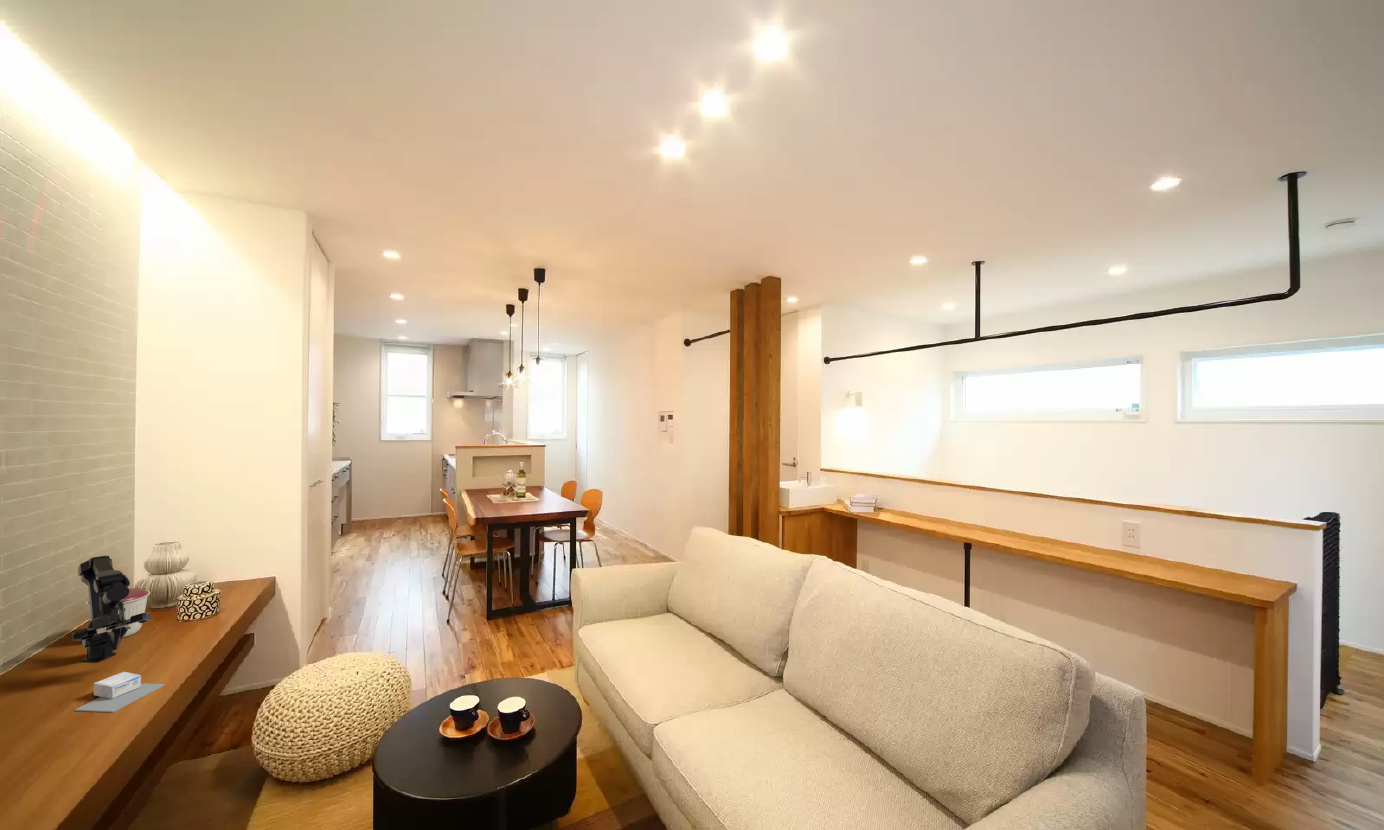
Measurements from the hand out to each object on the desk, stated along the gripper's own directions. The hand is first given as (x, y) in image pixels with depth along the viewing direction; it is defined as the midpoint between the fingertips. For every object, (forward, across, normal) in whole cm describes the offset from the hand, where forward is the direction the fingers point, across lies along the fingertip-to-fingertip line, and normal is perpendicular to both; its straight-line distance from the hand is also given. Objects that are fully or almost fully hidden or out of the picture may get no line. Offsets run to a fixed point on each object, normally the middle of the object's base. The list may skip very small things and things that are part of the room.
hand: (115, 649), depth 182 cm
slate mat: (+18, +5, -11) cm, 22 cm away
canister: (-12, -15, +43) cm, 47 cm away
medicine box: (+11, 0, -6) cm, 13 cm away
